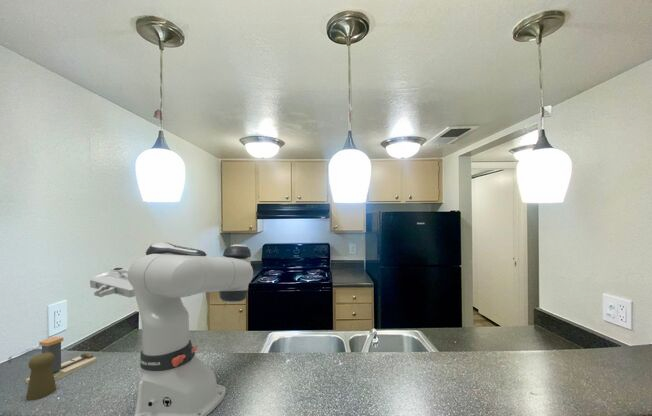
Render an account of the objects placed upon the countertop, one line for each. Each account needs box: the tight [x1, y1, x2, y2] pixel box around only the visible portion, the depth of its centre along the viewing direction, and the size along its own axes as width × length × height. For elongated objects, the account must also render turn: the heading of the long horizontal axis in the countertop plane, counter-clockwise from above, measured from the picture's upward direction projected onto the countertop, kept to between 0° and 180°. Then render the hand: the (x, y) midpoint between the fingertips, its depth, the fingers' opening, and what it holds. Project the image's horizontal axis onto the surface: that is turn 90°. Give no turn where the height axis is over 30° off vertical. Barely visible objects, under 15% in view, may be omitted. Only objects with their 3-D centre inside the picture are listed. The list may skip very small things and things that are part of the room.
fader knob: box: [39, 336, 64, 373], centre depth 88 cm, size 4×4×10 cm
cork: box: [25, 352, 57, 402], centre depth 79 cm, size 6×6×11 cm
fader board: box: [25, 352, 98, 385], centre depth 90 cm, size 8×15×2 cm, turn 164°
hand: (97, 294), depth 101 cm, fingers closed
